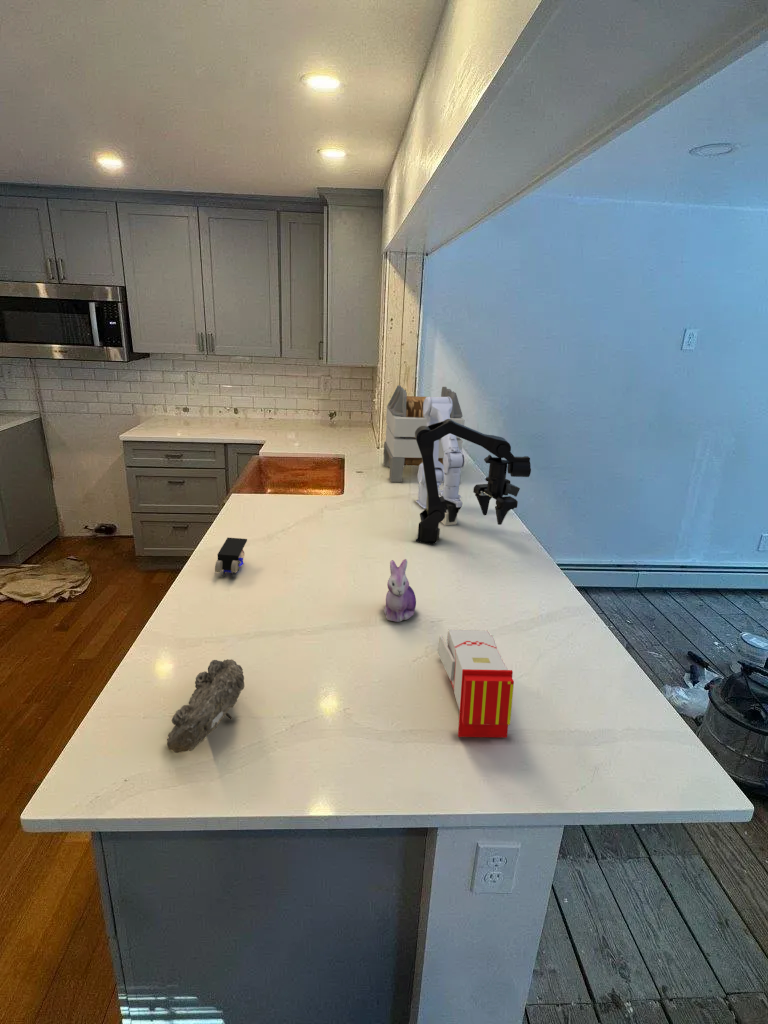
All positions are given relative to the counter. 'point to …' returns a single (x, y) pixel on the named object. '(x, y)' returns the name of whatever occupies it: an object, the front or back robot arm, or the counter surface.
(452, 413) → the grey wooden planter box
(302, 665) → the counter surface
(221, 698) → the fossil
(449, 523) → the light grey cube-like block
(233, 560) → the figurine character
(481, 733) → the toy
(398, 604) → the figurine
